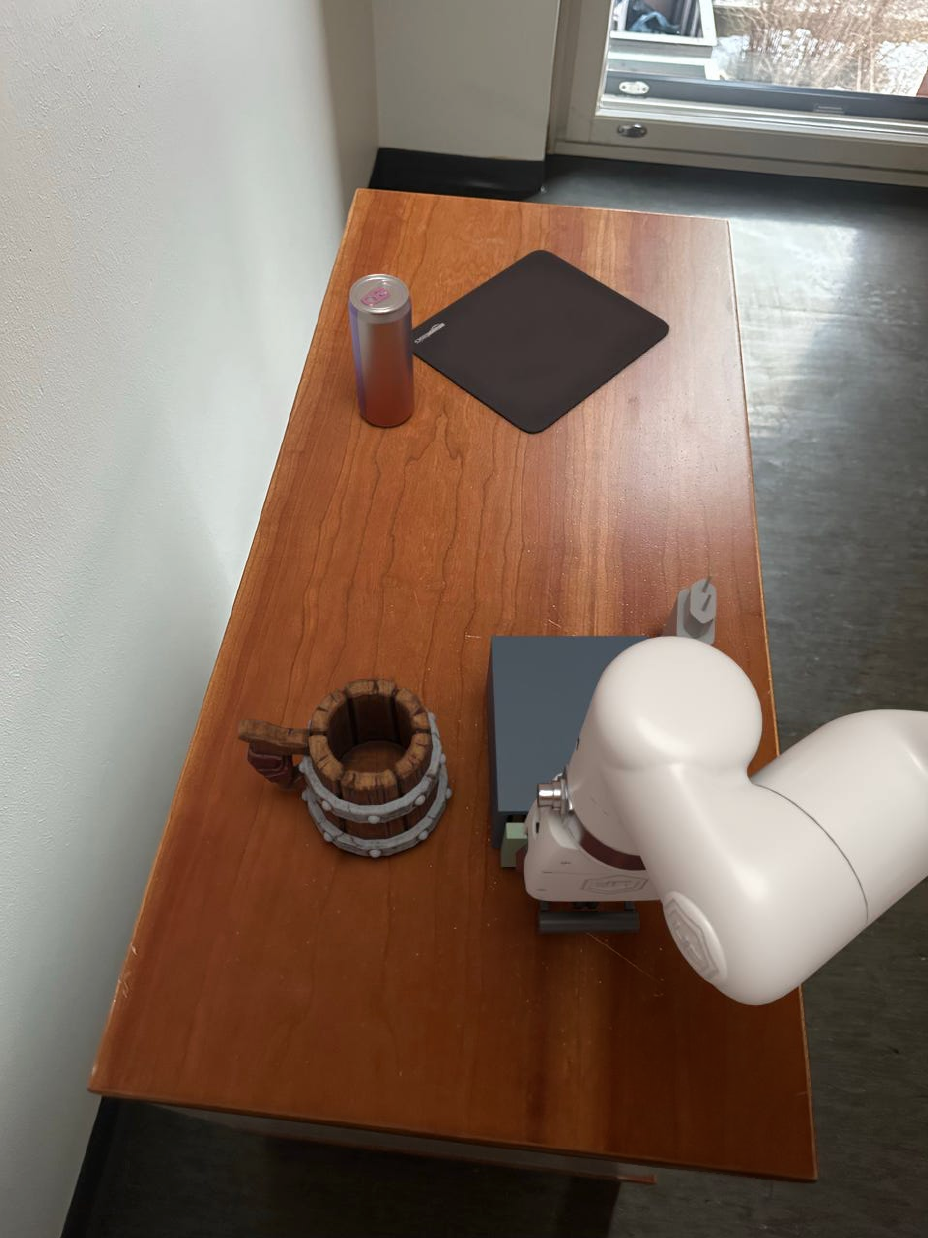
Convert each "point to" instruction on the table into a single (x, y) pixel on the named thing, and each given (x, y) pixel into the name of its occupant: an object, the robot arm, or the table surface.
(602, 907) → the table surface
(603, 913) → the drawer
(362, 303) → the beverage can
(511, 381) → the mouse pad
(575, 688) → the cabinet
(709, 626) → the power adapter
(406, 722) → the mug
